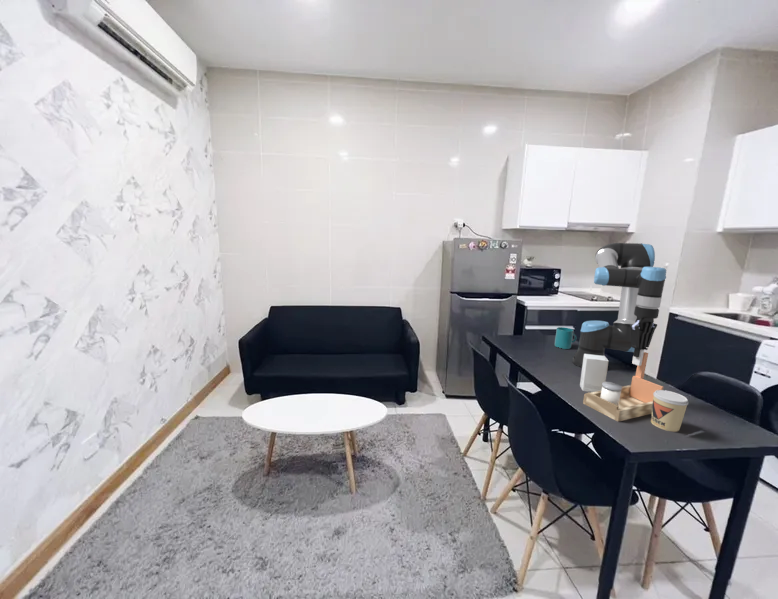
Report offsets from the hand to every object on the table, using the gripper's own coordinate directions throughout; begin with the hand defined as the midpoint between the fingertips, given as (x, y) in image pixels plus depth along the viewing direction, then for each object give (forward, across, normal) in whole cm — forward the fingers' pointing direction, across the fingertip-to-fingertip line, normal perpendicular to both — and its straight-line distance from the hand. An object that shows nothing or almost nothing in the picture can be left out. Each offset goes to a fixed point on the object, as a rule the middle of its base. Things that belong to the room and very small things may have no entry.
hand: (636, 364), depth 136 cm
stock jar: (+15, +19, +4) cm, 24 cm away
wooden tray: (+15, +9, +4) cm, 18 cm away
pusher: (+14, -3, +4) cm, 15 cm away
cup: (+16, -32, -60) cm, 70 cm away
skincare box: (+16, +8, -11) cm, 21 cm away
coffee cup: (+16, +9, +18) cm, 26 cm away
